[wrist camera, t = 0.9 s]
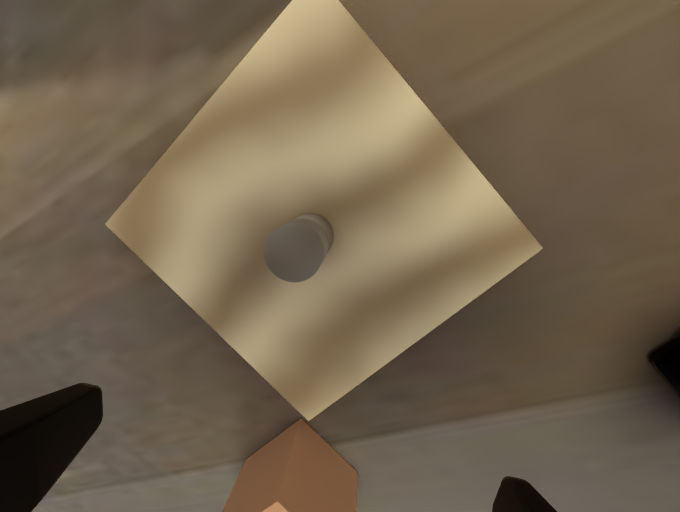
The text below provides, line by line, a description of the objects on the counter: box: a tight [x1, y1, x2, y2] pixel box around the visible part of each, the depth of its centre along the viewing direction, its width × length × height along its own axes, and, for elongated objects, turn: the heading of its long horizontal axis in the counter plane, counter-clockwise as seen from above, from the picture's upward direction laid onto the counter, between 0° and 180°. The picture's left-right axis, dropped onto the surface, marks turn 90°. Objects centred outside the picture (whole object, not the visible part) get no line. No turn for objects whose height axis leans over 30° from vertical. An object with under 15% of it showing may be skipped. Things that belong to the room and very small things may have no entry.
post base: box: [105, 0, 543, 421], centre depth 17 cm, size 18×18×6 cm
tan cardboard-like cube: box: [223, 418, 358, 512], centre depth 21 cm, size 6×6×6 cm
